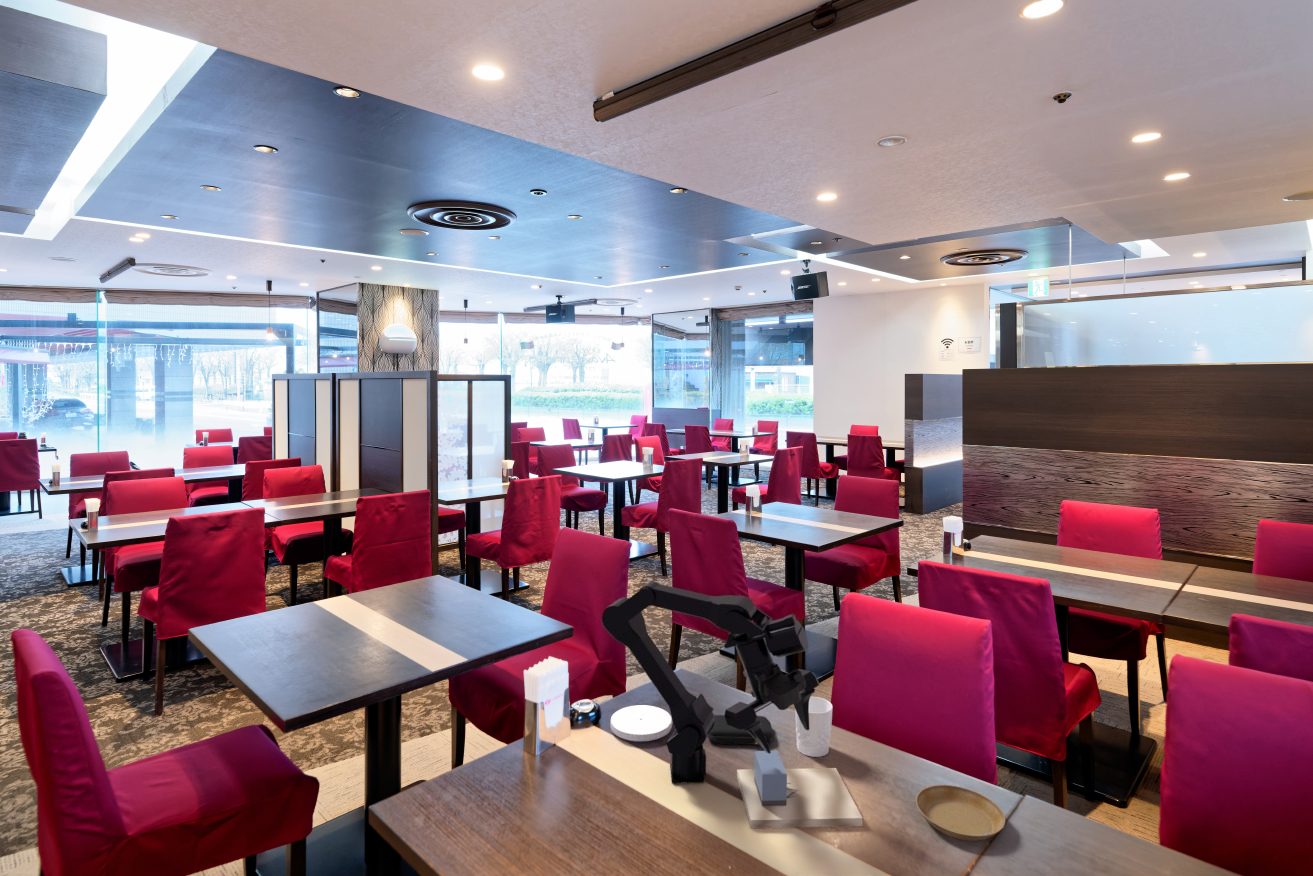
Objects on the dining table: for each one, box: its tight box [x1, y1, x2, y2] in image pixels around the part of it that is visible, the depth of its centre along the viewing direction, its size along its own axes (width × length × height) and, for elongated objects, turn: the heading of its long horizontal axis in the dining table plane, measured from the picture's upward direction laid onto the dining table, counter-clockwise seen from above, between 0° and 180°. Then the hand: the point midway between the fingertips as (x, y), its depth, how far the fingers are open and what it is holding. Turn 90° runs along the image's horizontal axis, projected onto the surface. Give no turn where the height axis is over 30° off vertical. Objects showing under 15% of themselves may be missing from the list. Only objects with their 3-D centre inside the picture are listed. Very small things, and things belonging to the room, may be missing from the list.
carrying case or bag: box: [707, 714, 775, 746], centre depth 152 cm, size 11×3×15 cm
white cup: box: [794, 695, 834, 758], centre depth 146 cm, size 8×8×10 cm
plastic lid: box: [610, 704, 673, 742], centre depth 155 cm, size 14×14×2 cm
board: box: [736, 767, 863, 829], centre depth 129 cm, size 20×16×2 cm
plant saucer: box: [915, 784, 1006, 842], centre depth 122 cm, size 15×15×3 cm
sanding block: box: [753, 750, 787, 806], centre depth 128 cm, size 4×8×6 cm, turn 2°
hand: (788, 741), depth 129 cm, fingers open, 9 cm apart
